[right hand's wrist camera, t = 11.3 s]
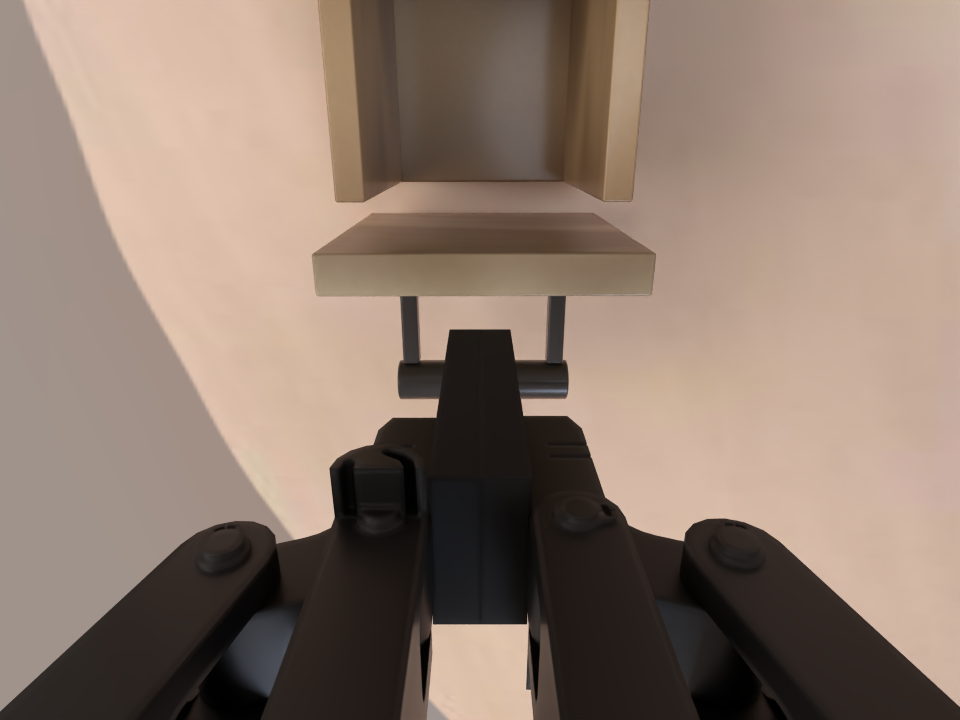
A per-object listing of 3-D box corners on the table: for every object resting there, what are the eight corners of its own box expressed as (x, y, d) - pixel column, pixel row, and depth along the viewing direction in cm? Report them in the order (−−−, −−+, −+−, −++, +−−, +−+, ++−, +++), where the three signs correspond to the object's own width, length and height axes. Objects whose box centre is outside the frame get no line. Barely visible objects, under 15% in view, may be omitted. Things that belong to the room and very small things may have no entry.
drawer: (584, 359, 27) (634, 464, 18) (380, 359, 27) (333, 464, 18) (631, -352, 18) (767, -794, 10) (333, -351, 18) (200, -791, 10)
